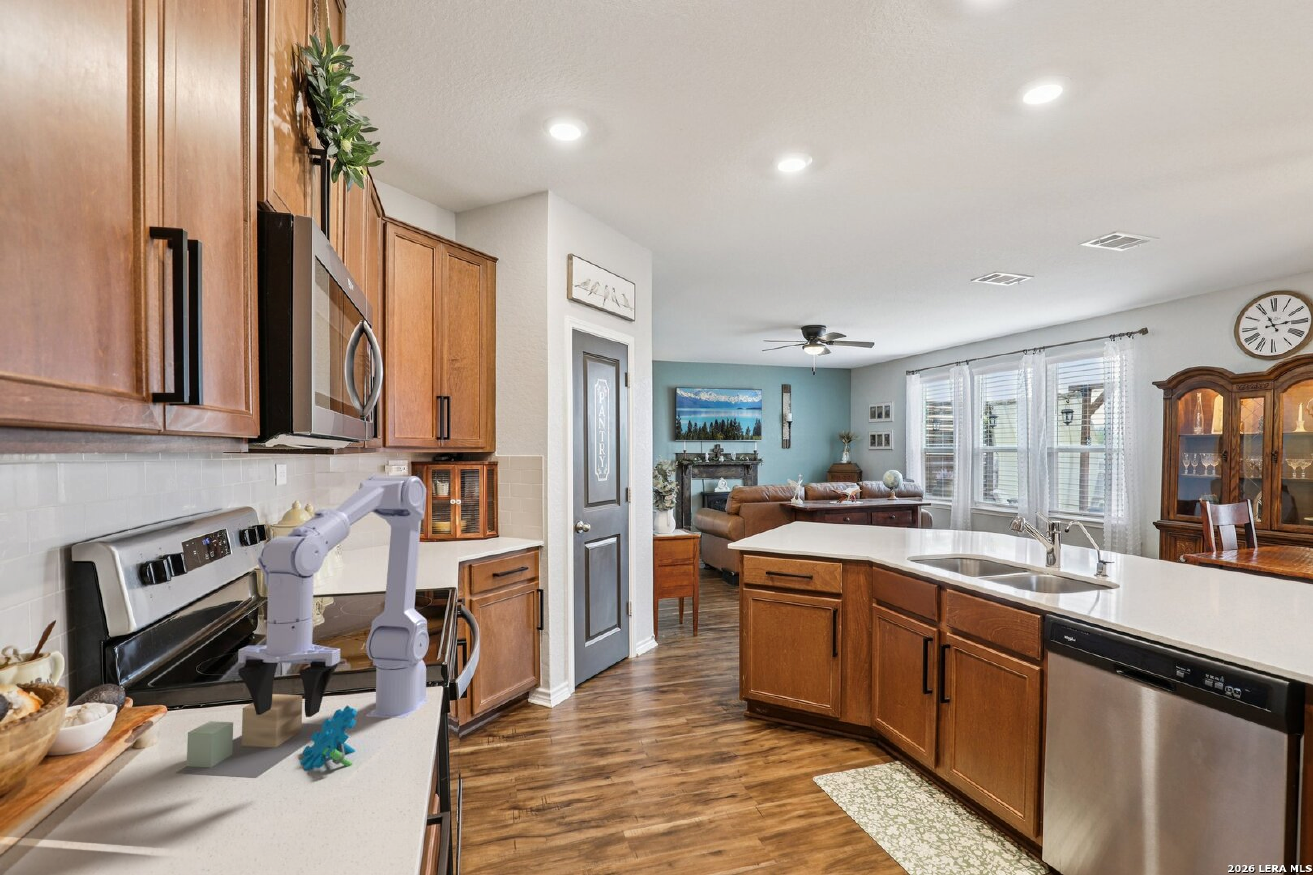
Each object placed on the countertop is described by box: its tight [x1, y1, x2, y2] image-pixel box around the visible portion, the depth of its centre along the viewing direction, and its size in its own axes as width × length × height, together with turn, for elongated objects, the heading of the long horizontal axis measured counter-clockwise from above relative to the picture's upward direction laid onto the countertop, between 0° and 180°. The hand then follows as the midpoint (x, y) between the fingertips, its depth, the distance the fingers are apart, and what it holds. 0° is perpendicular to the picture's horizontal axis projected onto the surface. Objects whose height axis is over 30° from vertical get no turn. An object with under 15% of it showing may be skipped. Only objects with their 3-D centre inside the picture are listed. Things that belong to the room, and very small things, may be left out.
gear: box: [299, 705, 358, 771], centre depth 94 cm, size 11×6×10 cm
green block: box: [186, 720, 234, 767], centre depth 93 cm, size 4×4×5 cm
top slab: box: [241, 693, 303, 728], centre depth 101 cm, size 6×6×3 cm
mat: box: [174, 722, 322, 779], centre depth 97 cm, size 18×13×1 cm
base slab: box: [241, 713, 303, 747], centre depth 101 cm, size 6×6×3 cm
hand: (287, 713), depth 88 cm, fingers open, 7 cm apart
